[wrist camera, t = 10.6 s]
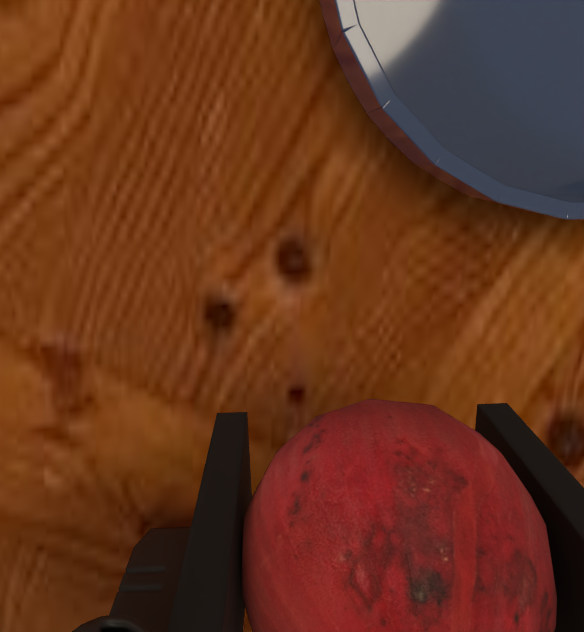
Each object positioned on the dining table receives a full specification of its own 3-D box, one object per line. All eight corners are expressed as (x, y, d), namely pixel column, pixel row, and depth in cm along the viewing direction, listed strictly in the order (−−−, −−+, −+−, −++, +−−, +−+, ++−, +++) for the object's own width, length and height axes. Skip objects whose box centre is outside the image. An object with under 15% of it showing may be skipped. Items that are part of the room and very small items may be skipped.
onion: (259, 338, 13) (231, 606, 5) (490, 356, 13) (777, 635, 6) (243, 536, 15) (206, 955, 7) (448, 548, 15) (626, 962, 7)
